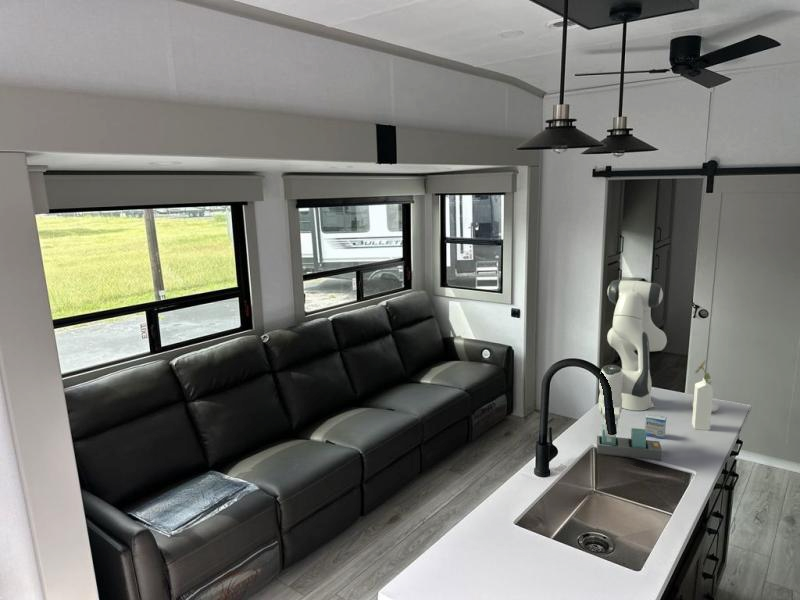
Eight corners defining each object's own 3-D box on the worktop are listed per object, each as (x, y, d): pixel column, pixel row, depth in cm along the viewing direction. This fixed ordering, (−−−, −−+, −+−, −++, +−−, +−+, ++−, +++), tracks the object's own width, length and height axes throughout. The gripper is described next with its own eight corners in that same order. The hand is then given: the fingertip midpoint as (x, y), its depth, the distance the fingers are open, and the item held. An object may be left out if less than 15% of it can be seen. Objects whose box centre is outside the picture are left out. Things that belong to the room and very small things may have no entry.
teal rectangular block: (601, 442, 231) (602, 424, 229) (614, 443, 229) (615, 425, 228) (602, 447, 226) (602, 429, 225) (615, 449, 225) (616, 430, 223)
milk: (694, 429, 243) (697, 381, 239) (691, 423, 249) (695, 376, 244) (710, 430, 242) (713, 382, 237) (707, 424, 247) (710, 377, 242)
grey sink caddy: (596, 444, 233) (597, 423, 231) (658, 450, 226) (660, 428, 224) (597, 454, 225) (598, 432, 223) (661, 460, 218) (663, 438, 216)
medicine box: (644, 436, 239) (645, 417, 237) (645, 431, 243) (646, 413, 241) (664, 439, 235) (665, 420, 234) (665, 435, 239) (666, 416, 237)
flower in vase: (700, 402, 270) (703, 353, 265) (723, 410, 261) (728, 359, 256) (684, 409, 264) (687, 358, 258) (707, 417, 254) (712, 365, 249)
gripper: (600, 395, 235) (599, 425, 238) (602, 415, 216) (601, 448, 219) (616, 396, 233) (615, 427, 236) (620, 416, 214) (618, 449, 217)
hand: (608, 437), depth 227 cm, fingers closed on teal rectangular block, 5 cm apart
